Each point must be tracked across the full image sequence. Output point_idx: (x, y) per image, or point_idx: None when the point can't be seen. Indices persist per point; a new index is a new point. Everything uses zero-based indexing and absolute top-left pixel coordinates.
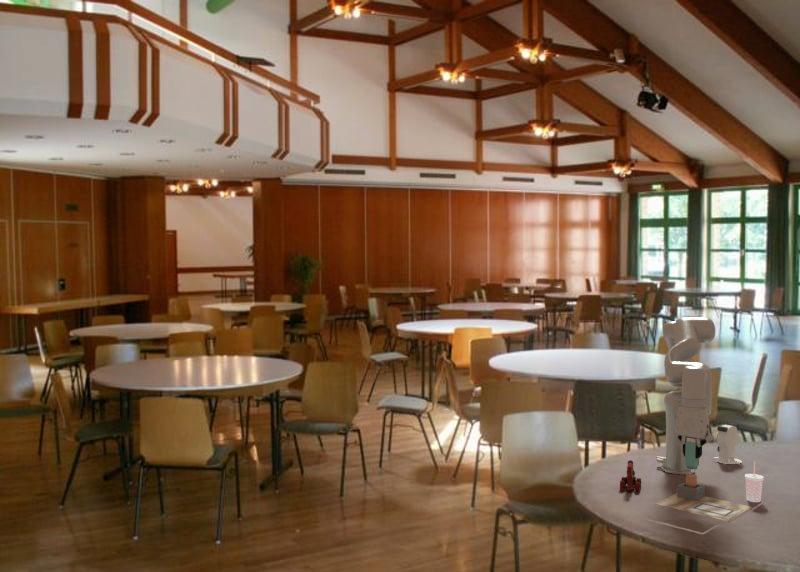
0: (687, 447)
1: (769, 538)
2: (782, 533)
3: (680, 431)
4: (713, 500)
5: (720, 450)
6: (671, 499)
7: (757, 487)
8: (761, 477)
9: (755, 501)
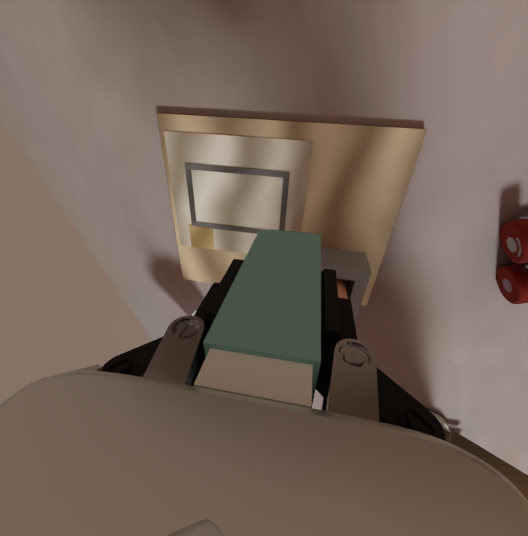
0: (300, 307)
1: (14, 53)
2: (35, 134)
3: (432, 518)
4: None
5: None
6: (376, 219)
7: None
8: None
9: (194, 313)
